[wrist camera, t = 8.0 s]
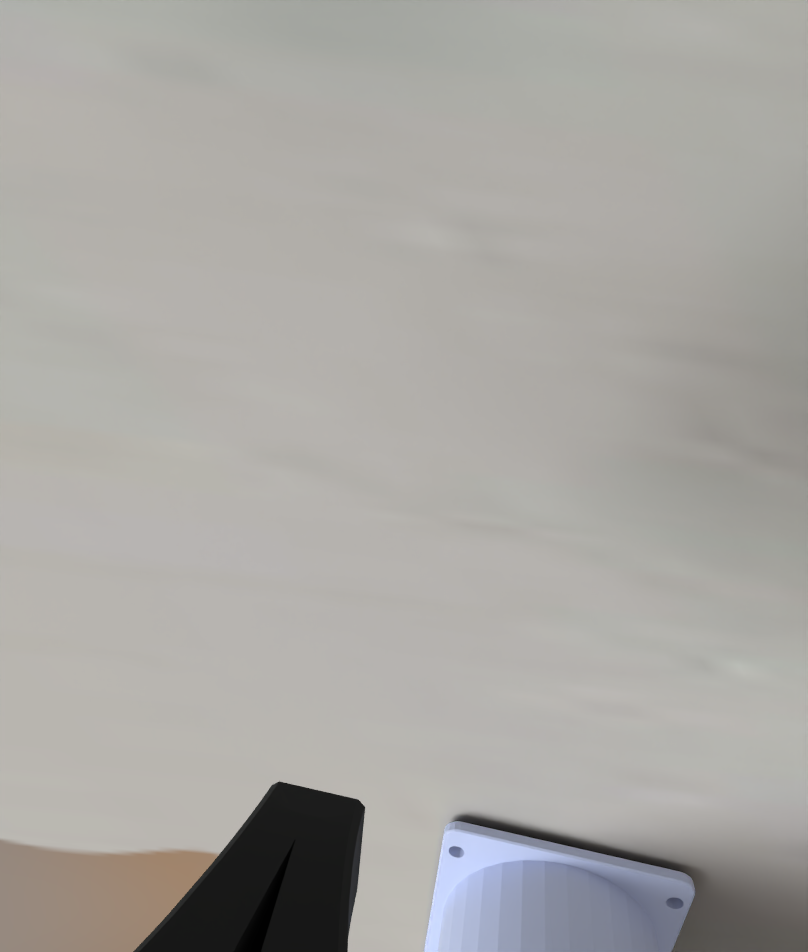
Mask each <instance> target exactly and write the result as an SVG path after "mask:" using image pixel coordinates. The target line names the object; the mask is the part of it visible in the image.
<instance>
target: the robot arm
mask: <svg viewBox="0 0 808 952" xmlns="http://www.w3.org/2000/svg"><path fill="white" fill-rule="evenodd" d="M364 813H365V807H364V806H363V804H362V803H361V802H360V801H359V800H357V799H353V798H349V797H344V796H340V795H336V794H331V793H327V792H323V791H318V790H314V789H309V788H305V787H301V786H296V785H292V784H288V783H283V782H278V783H276V784H274V785H272V786H271V787H270V789H269V790H268V792H267V793H266V795H265V796H264V797H263V799H262V800H261V802H260V803H259V804H258V806H257V807H256V808H255V810H254V811H253V812H252V814H251V815H250V816H249V818H248V819H247V820H246V822H245V823H244V824H243V826H242V827H241V828H240V830H239V831H238V832H237V833H236V835H235V836H234V837H233V838H232V840H231V841H230V842H229V843H228V845H227V846H226V847H225V848H224V850H223V851H222V852H221V853H220V855H219V856H218V857H217V858H216V859H215V861H214V862H213V863H212V865H211V866H210V867H209V868H208V869H207V870H206V871H205V873H204V874H203V875H202V876H201V877H200V879H199V880H198V881H197V882H196V883H195V884H194V885H193V886H192V888H191V889H190V890H189V891H188V892H187V894H186V895H185V896H184V897H183V898H182V899H181V900H180V902H179V903H178V904H177V905H176V906H175V908H173V910H172V911H171V912H170V913H169V914H168V915H167V916H166V917H165V919H164V920H163V921H162V922H161V923H160V924H159V925H158V926H157V927H156V928H155V930H154V931H153V932H152V933H151V934H150V935H149V936H148V937H147V938H146V939H145V940H144V941H143V942H142V943H141V944H140V945H139V947H137V949H136V950H135V951H134V952H347V949H348V934H349V928H350V922H351V916H352V912H353V907H354V902H355V897H356V892H357V885H358V875H359V865H360V854H361V844H362V834H363V823H364ZM456 846H458V847H456ZM694 896H695V887H694V883H693V880H692V879H691V877H690V876H688V875H687V874H685V873H682V872H680V871H675V870H671V869H666V868H662V867H658V866H653V865H649V864H645V863H640V862H636V861H631V860H627V859H623V858H618V857H614V856H610V855H605V854H601V853H597V852H592V851H588V850H583V849H579V848H575V847H570V846H566V845H562V844H557V843H553V842H548V841H544V840H540V839H535V838H531V837H527V836H522V835H518V834H514V833H509V832H505V831H500V830H496V829H492V828H487V827H483V826H479V825H474V824H470V823H465V822H461V821H454V822H450V823H449V824H447V825H446V827H445V830H444V836H443V842H442V848H441V854H440V860H439V866H438V872H437V878H436V884H435V889H434V895H433V901H432V907H431V913H430V919H429V925H428V931H427V937H426V943H425V949H424V952H672V950H673V947H674V945H675V943H676V940H677V938H678V935H679V933H680V930H681V928H682V926H683V923H684V921H685V918H686V916H687V913H688V911H689V908H690V906H691V904H692V901H693V899H694Z"/></svg>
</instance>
